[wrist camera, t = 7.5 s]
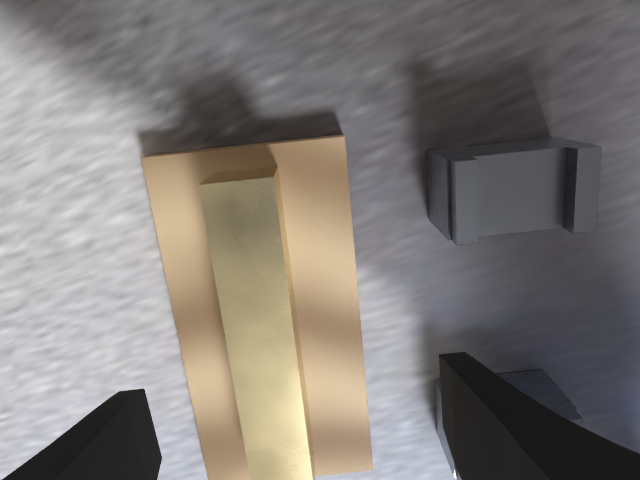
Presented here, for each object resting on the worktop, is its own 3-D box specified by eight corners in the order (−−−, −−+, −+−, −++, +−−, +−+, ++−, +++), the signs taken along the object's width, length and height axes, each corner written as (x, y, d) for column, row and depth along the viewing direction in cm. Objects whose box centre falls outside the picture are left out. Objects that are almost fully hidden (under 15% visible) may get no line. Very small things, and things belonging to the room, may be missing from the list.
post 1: (548, 207, 21) (598, 230, 17) (429, 220, 21) (454, 245, 17) (551, 137, 20) (604, 146, 16) (426, 150, 20) (452, 162, 16)
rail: (314, 456, 23) (315, 500, 21) (260, 462, 23) (255, 506, 21) (278, 166, 19) (273, 177, 16) (212, 172, 19) (198, 185, 16)
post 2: (540, 421, 24) (580, 478, 20) (436, 432, 24) (459, 490, 20) (542, 369, 23) (585, 418, 20) (435, 379, 23) (458, 431, 20)
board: (370, 455, 24) (372, 470, 23) (213, 471, 24) (209, 486, 23) (342, 134, 20) (344, 136, 19) (148, 154, 20) (141, 157, 19)
